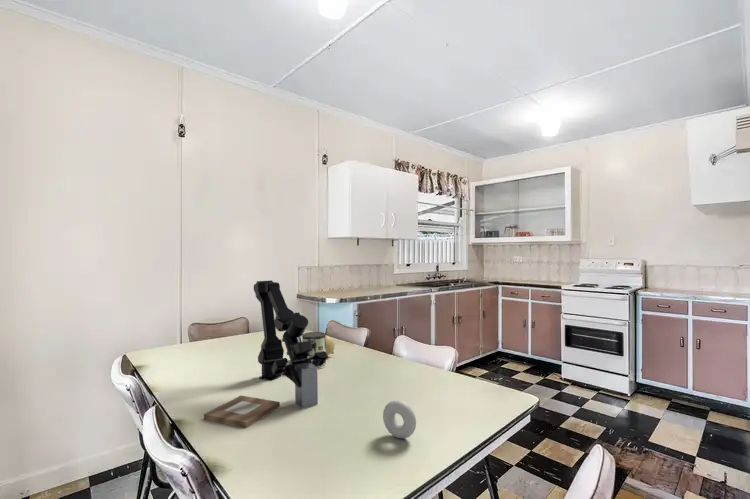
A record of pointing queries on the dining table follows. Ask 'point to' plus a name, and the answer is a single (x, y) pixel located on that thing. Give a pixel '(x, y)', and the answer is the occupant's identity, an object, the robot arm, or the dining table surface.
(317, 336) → the coffee can
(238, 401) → the walnut board
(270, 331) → the robot arm
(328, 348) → the toy pig
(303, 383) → the gray block
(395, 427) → the donut
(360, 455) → the dining table surface
